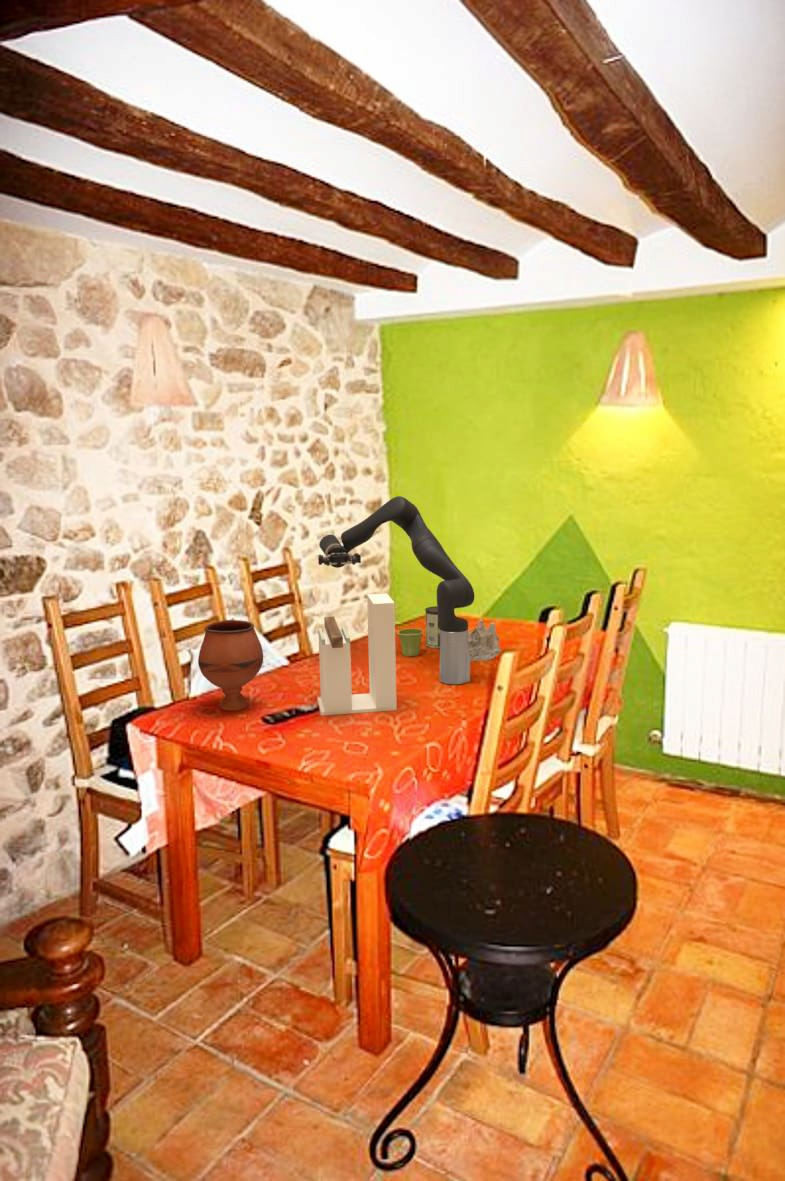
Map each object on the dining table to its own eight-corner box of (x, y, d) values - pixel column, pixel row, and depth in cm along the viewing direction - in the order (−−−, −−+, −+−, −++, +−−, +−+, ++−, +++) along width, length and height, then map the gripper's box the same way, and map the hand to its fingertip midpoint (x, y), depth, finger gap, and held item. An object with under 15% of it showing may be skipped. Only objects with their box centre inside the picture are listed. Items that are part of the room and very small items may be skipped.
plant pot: (413, 659, 286) (413, 636, 285) (392, 655, 292) (392, 632, 290) (428, 653, 294) (428, 630, 292) (407, 650, 299) (407, 627, 298)
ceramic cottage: (509, 655, 289) (506, 614, 286) (475, 665, 279) (472, 623, 277) (479, 649, 301) (476, 610, 299) (446, 659, 291) (442, 619, 289)
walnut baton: (334, 626, 249) (333, 616, 248) (343, 647, 224) (342, 637, 223) (324, 626, 248) (324, 617, 248) (332, 648, 223) (332, 637, 223)
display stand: (389, 695, 248) (386, 593, 242) (396, 710, 234) (394, 602, 228) (317, 700, 245) (313, 597, 238) (321, 715, 231) (316, 606, 225)
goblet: (214, 721, 228) (208, 636, 223) (192, 703, 244) (187, 623, 239) (276, 708, 238) (272, 626, 233) (251, 691, 254) (247, 614, 249)
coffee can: (454, 642, 310) (454, 606, 307) (450, 648, 300) (450, 612, 297) (427, 641, 312) (427, 605, 309) (423, 648, 302) (423, 611, 299)
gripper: (315, 545, 278) (319, 551, 262) (356, 543, 280) (362, 550, 265) (316, 566, 280) (320, 574, 264) (357, 564, 282) (363, 572, 266)
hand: (341, 562), depth 264 cm, fingers open, 8 cm apart
